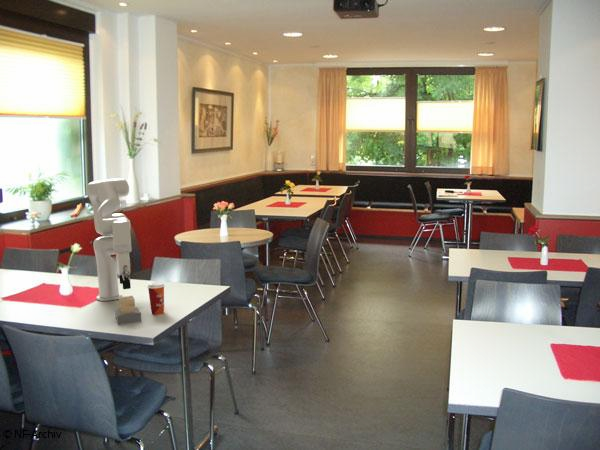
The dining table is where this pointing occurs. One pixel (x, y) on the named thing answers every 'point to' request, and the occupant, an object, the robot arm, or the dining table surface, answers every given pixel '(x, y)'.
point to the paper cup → (156, 297)
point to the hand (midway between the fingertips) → (125, 286)
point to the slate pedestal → (128, 316)
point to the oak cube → (126, 304)
